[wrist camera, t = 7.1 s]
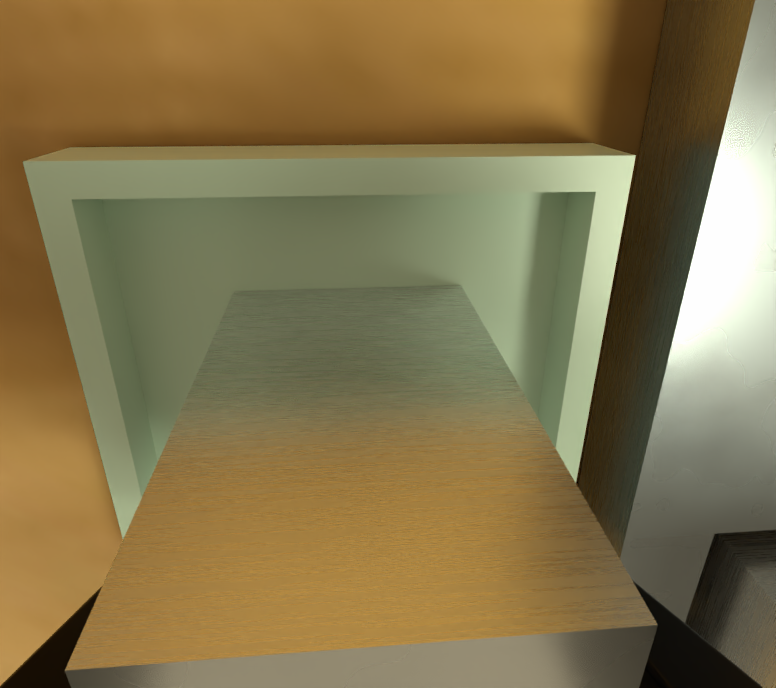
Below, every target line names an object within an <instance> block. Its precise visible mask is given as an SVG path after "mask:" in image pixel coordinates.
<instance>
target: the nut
mask: <svg viewBox="0 0 776 688" xmlns="http://www.w3.org/2000/svg"><path fill="white" fill-rule="evenodd" d="M657 627H658V624H657V622H656V621H655V619H654V617H653V616H652V614H651V612H650V610H649V609H648V607H647V605H646V604H645V602H644V600H643V598H642V597H641V595H640V593H639V591H638V590H637V588H636V586H635V585H634V583H633V581H632V579H631V578H630V576H629V574H628V572H627V571H626V569H625V567H624V566H623V564H622V562H621V560H620V559H619V557H618V555H617V553H616V552H615V550H614V548H613V547H612V545H611V543H610V541H609V540H608V538H607V536H606V534H605V533H604V531H603V529H602V528H601V526H600V524H599V522H598V521H597V519H596V517H595V516H594V514H593V512H592V510H591V509H590V507H589V505H588V503H587V502H586V500H585V498H584V497H583V495H582V493H581V491H580V490H579V488H578V486H577V484H576V483H575V481H574V479H573V478H572V476H571V474H570V472H569V471H568V469H567V467H566V465H565V464H564V462H563V460H562V459H561V457H560V455H559V453H558V452H557V450H556V448H555V446H554V445H553V443H552V441H551V440H550V438H549V436H548V434H547V433H546V431H545V429H544V428H543V426H542V424H541V422H540V421H539V419H538V417H537V415H536V414H535V412H534V410H533V409H532V407H531V405H530V403H529V402H528V400H527V398H526V396H525V395H524V393H523V391H522V390H521V388H520V386H519V384H518V383H517V381H516V379H515V377H514V376H513V374H512V372H511V371H510V369H509V367H508V365H507V364H506V362H505V360H504V358H503V357H502V355H501V353H500V352H499V350H498V348H497V346H496V345H495V343H494V341H493V340H492V338H491V336H490V334H489V333H488V331H487V329H486V327H485V326H484V324H483V322H482V321H481V319H480V317H479V315H478V314H477V312H476V310H475V308H474V307H473V305H472V303H471V302H470V300H469V298H468V296H467V295H466V293H465V291H464V289H463V288H462V286H461V285H442V286H407V287H373V288H338V289H303V290H268V291H234V292H233V295H232V297H231V299H230V301H229V304H228V306H227V308H226V310H225V313H224V315H223V317H222V319H221V322H220V324H219V326H218V328H217V331H216V333H215V335H214V337H213V340H212V342H211V344H210V346H209V348H208V351H207V353H206V355H205V357H204V360H203V362H202V364H201V366H200V369H199V371H198V373H197V375H196V378H195V380H194V382H193V384H192V387H191V389H190V391H189V393H188V395H187V398H186V400H185V402H184V404H183V407H182V409H181V411H180V413H179V416H178V418H177V420H176V422H175V425H174V427H173V429H172V431H171V434H170V436H169V438H168V440H167V443H166V445H165V447H164V449H163V451H162V454H161V456H160V458H159V460H158V463H157V465H156V467H155V469H154V472H153V474H152V476H151V478H150V481H149V483H148V485H147V487H146V490H145V492H144V494H143V496H142V499H141V501H140V503H139V505H138V507H137V510H136V512H135V514H134V516H133V519H132V521H131V523H130V525H129V528H128V530H127V532H126V534H125V537H124V539H123V541H122V543H121V546H120V548H119V550H118V552H117V555H116V557H115V559H114V561H113V563H112V566H111V568H110V570H109V572H108V575H107V577H106V579H105V581H104V584H103V586H102V588H101V590H100V593H99V595H98V597H97V599H96V602H95V604H94V606H93V608H92V611H91V613H90V615H89V617H88V619H87V622H86V624H85V626H84V628H83V631H82V633H81V635H80V637H79V640H78V642H77V644H76V646H75V649H74V651H73V653H72V655H71V658H70V660H69V662H68V664H67V667H66V669H65V673H66V675H67V678H68V681H69V683H70V686H71V688H639V686H640V683H641V680H642V676H643V673H644V670H645V666H646V663H647V660H648V657H649V653H650V650H651V647H652V643H653V640H654V637H655V633H656V630H657Z"/></svg>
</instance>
